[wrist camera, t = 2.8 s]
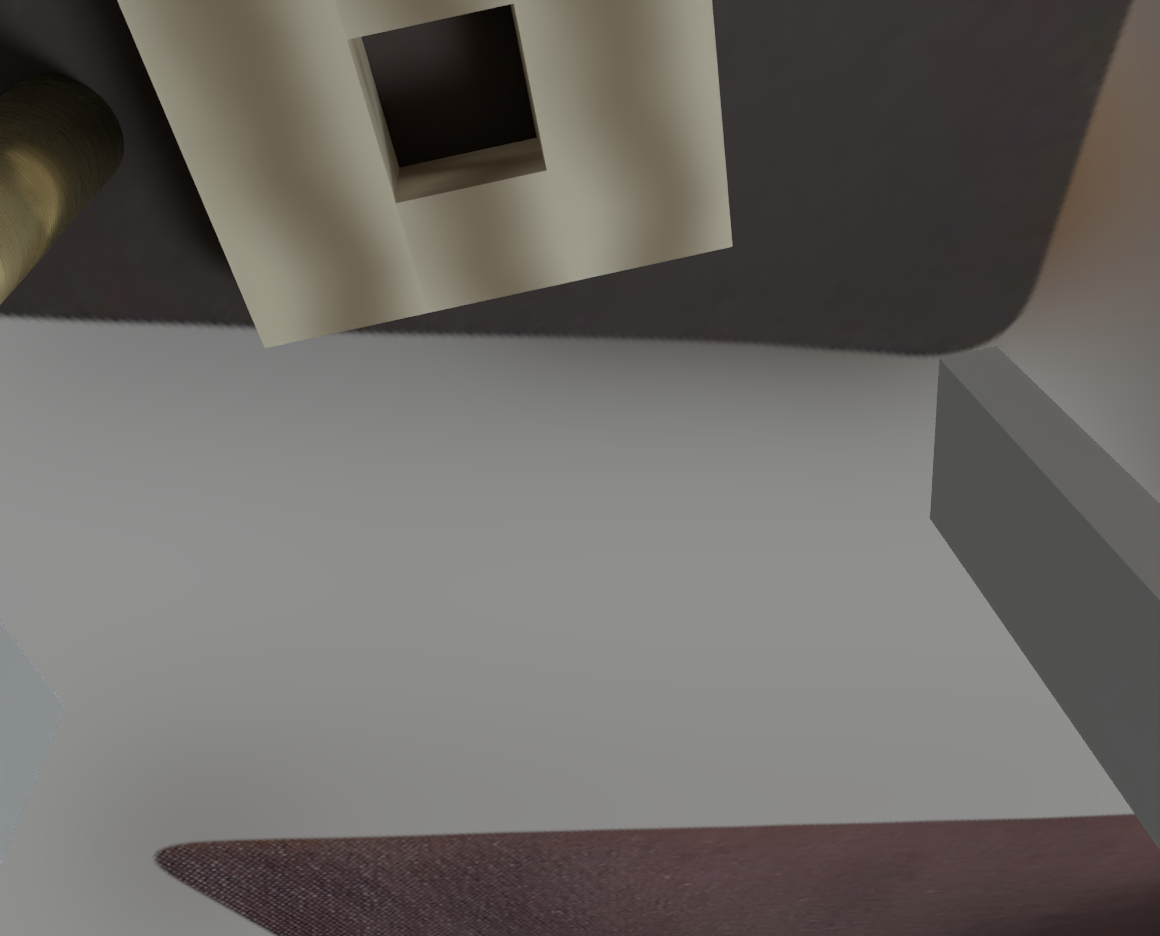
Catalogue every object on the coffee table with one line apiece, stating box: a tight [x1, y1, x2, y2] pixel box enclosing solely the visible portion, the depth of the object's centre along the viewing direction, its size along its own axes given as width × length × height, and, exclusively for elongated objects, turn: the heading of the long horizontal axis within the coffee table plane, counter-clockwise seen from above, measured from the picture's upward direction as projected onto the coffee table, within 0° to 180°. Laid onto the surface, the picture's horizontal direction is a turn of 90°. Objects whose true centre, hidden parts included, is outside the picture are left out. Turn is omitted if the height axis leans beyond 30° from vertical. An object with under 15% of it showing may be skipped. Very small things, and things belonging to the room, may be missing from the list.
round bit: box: [0, 75, 124, 305], centre depth 29 cm, size 4×4×12 cm
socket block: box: [117, 0, 732, 348], centre depth 33 cm, size 18×14×4 cm
